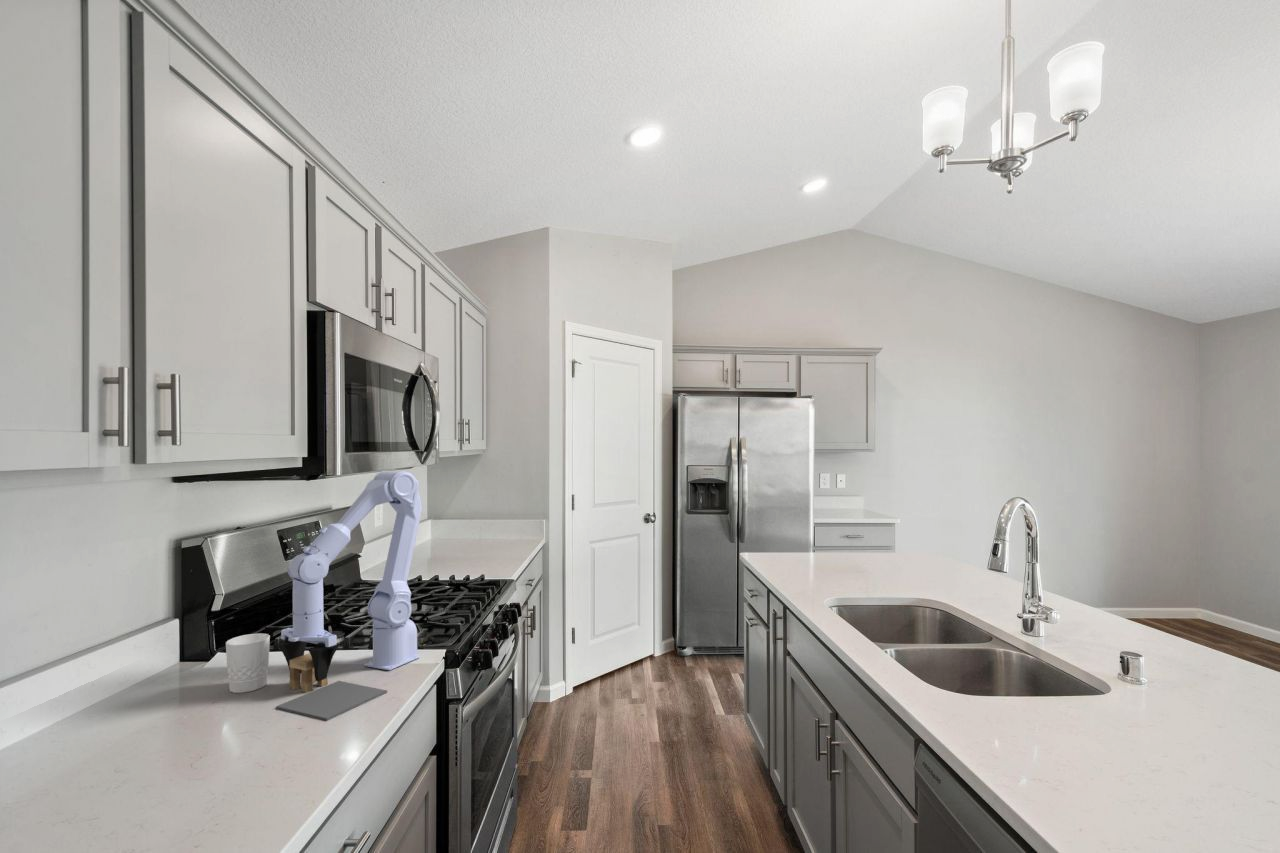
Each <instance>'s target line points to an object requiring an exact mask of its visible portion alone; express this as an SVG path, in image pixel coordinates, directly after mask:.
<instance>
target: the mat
mask: <svg viewBox="0 0 1280 853" xmlns="http://www.w3.org/2000/svg"><path fill="white" fill-rule="evenodd" d="M387 693H388V690H387V689H383V688H377V687H371V686H367V685H363V684H358V683H357V684H356V683H352V682H346V681H341V680H337V681H334V682H332V683H330V684H327V685H324V686H321V687H320V688H317V689H314V690H312V691H310V692H307V693H305V694H303V695H300V696H297V697H296V698H292V699H291V700H288V701H286V702H284V703H281V704H279V705H278V704H277V705H276V709H278V710H282V711H285V712H290V713H292V714H293V713H294V714H298V715H303V716H307V717H310V718H313V719H319V720H322V721H323V720H324V721H329V720H331V719H333V718H336V717H338V716H340V715H342V714H344V713H346V712H349V711H351V710H353V709H355V708H357V707H359V706H361V705H363V704H366V703H368V702H369V701H373V700H374V699H376V698H378V697H381V696H383V695H385V694H387Z"/></svg>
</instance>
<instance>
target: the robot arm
mask: <svg viewBox="0 0 1280 853" xmlns="http://www.w3.org/2000/svg"><path fill="white" fill-rule="evenodd" d="M420 486H421V485H420V482H419V481H418V479H416V477H415V476H414V474H412V473H410V471H406V470H405V471H404V470H401V471H389V470H382V471H380V472H378V473H376V474H375V476H374V478H373V479H371V480H369V482H367V484H366V486H365V488H364V490H363V491H361V493H360V494H359V496H358V497H357V498H356V499H355V501H354V502H353V503H352V504H351V506H350V507H349V508H347V509H348V510H347V511H345V513H344V514H343V515H342V517H341V518H340V519H339V520H338V521H337V522H336V523H329V524H328V525H327V526H322V527H321V528H320V529H319V530H318V533H319V535H317V536H316V538H315V539H314V540H313V541H312V542H311V543H310V544H309V545H308V546H304V547H303V550H302V551H303V552H304V553H300V554H297V555H296V556H294V558H292V560H291V561H290V563H289V566H288V567H287V574H288V575H289V577H290V578H291V579H292V627H287V628H284V629H281V631H280V633H281V634H280V635H281V636H280V640H283V642H281V643H279V644H278V649H279V650H280V651H281V653H282V654H283V656H284V657H285V658H284V659H285V660H286V663H287V666H288V670H289V672H290V660H291V659H294V658H297V657H300V656H303V655H305V651H306V646H307V643H309V644H310V643H311V644H315V645H316V646H313V647H310V648H308V653H310V654H311V657H312V660H313V664H314V673H315V679H316V682H317V681H321V680H323V679H326V678H327V674H328V673H329V670H330V667H331V666H330V665H331V662H332V660H333V658H334V655H335V654H336V651H337V650H338V648H339V642H337V635H336V634H334V633H333V634H332V633H331V632H329V631H327V630H326V629H325V628H324V627H325V626H324V625H325V624H324V612H325V611H324V578H326V577H327V575H328V573H329V569H330V568H329V567H330V564H331V563H332V562H333V561H334V560H335V559H336V557H337V556H338V555H339V554H340V553H341V552H342V551H343V549H345V547H346V546H347V545H348V544H349V543H350V542H351V532H352V531H353V530H354V529H355V528H356V527H357V526H358V525H359V524H360V523H361V522H362V521H363V520H364V519H365V518H366V517H367V516H368V515H369V514H370V512H372V510H374V508H375V507H377V506H378V505H379V506H380V505H382V504H386V503H388V504H389V505H390V506H391V507H392V509H394V511H395V513H396V516H395V519H394V524H393V528H392V529H393V530H392V535H391V539H390V542H389V543H390V544H389V548H388V553H387V558H386V561H385V567H384V571H383V576H382V580H380V582H379V583H378V584H377V585H376V586H375V587H374V588H375V589H374V593H373V595H372V596H371V597H370V599H369V601H368V604H367V614H368V615H369V616H370V617H371V618H372V658H373V659H372V660H370V661H368V662H365V663H364V667H369V668H374V669H379V670H384V671H391V670H394V669H396V668H398V667H401V666H403V665H405V664H408V663H410V662H412V661H415V660H416V659H419V658H421V655H419V654H418V629H417V626H416V624H415V622H414V621H413V620H411V619H410V617H411V615H412V611H413V610H412V608H413V607H412V602H411V597H412V591H411V590H410V588H409V585H408V580H409V579H408V578H409V576H410V575H409V574H410V569H411V566H412V559H413V555H414V551H415V545H416V540H417V536H418V531H419V527H420V521H421V516H422V512H423V504H422V501H421V500H422V499H421V496H420V492H419V490H420ZM300 674H301V669H300Z"/></svg>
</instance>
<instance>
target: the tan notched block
mask: <svg viewBox="0 0 1280 853" xmlns="http://www.w3.org/2000/svg"><path fill="white" fill-rule="evenodd" d="M300 669H301V673H300ZM328 679H329V678H328V674H327V678H326V679H323V680H321V681H316V679H315V673H314V664H313V660H312V657H311V654H310V652H308V653H306V654H304V655H303V656H300V657H297V658H294V659H291V660H290V671H289V690H292V691H296V690H298V689H301V693H305V694H307V693H310V692H312V691H313V684H314V683H316V685H317V686H318V687H325V686H327V685H329V684H328V682H329V681H328Z"/></svg>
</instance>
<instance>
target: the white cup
mask: <svg viewBox="0 0 1280 853" xmlns="http://www.w3.org/2000/svg"><path fill="white" fill-rule="evenodd" d="M270 638H271V635H269V633H250V634H243V635H239V636H235V637H232V638H230V639H227V641H225V653H226V654H225V655H226V668H227V669H226V670H227V678H228V681H229V682H228V684H229V692H231V693H234V694H235V693H236V694H241V693H242V694H243V693H249V692H253V691H257V690H260V689H261V688H264V687H266V685H267V684H268V671H269V663H270V662H269V661H270V643H271V642H270V641H271V640H270Z"/></svg>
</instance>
